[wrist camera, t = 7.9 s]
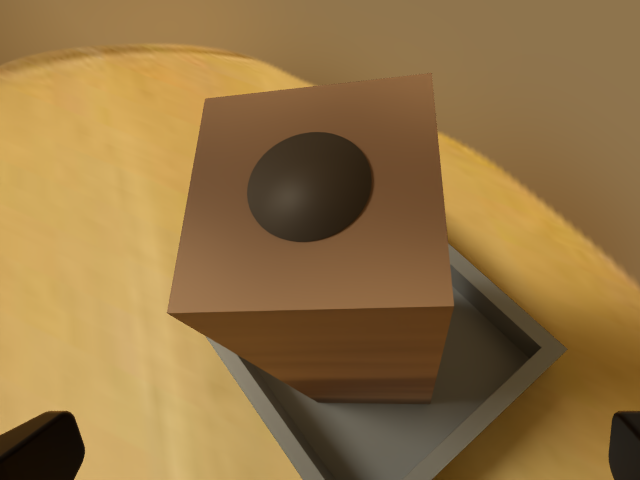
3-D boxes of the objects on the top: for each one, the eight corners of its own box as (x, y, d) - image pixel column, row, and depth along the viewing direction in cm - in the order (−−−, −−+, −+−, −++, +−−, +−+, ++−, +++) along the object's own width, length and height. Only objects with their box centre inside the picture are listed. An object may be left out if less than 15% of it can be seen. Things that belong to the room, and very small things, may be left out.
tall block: (429, 404, 18) (454, 305, 7) (318, 402, 19) (165, 312, 7) (422, 295, 20) (431, 71, 9) (321, 298, 21) (204, 97, 9)
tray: (549, 362, 18) (567, 349, 16) (361, 541, 17) (353, 554, 15) (381, 207, 23) (377, 180, 21) (220, 339, 21) (198, 326, 19)
